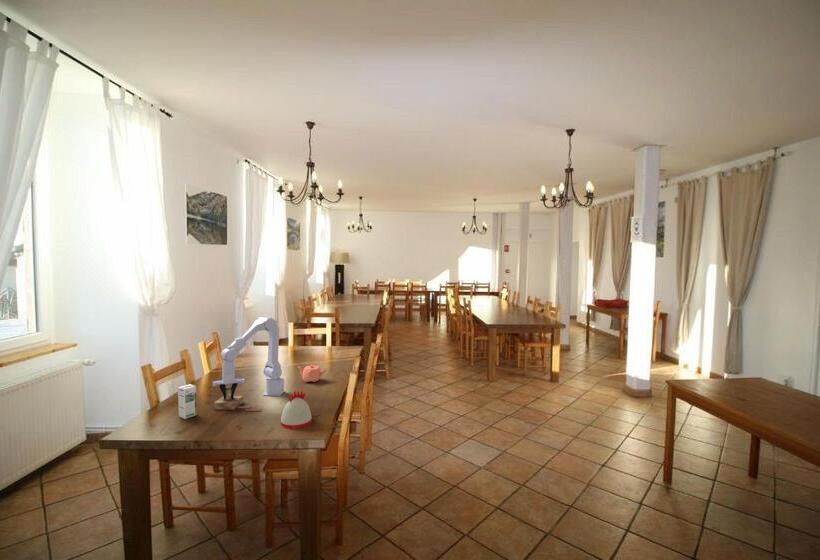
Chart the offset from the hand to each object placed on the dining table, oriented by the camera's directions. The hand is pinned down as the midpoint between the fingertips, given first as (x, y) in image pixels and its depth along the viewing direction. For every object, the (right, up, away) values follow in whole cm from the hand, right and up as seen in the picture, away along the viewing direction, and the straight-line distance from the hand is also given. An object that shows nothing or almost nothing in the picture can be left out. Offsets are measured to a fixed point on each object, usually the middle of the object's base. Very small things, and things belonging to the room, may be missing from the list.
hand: (228, 398), depth 200 cm
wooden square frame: (0, -4, 0) cm, 4 cm away
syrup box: (-14, -5, -13) cm, 20 cm away
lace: (+11, -4, -4) cm, 12 cm away
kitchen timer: (+40, -6, -18) cm, 45 cm away
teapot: (+32, -3, +43) cm, 53 cm away
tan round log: (0, -2, 0) cm, 2 cm away
